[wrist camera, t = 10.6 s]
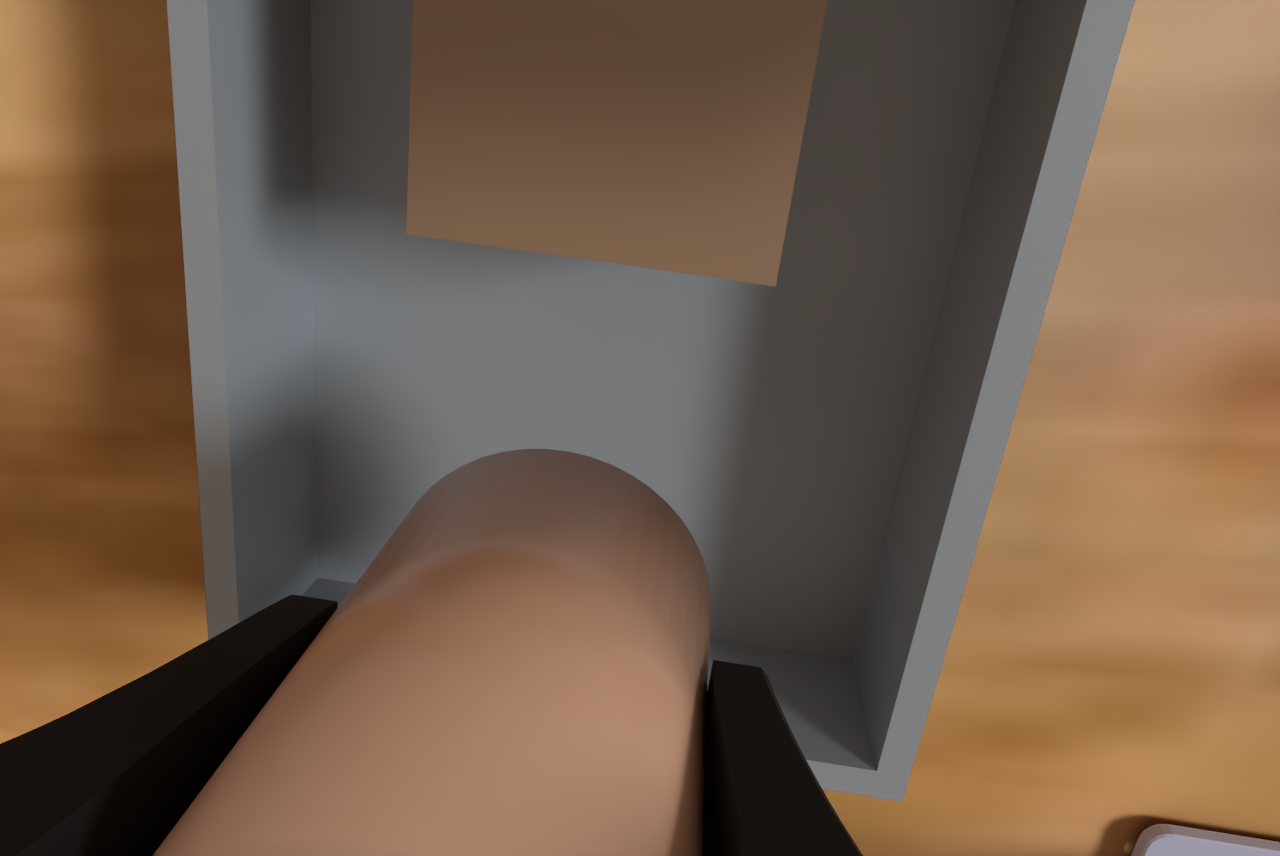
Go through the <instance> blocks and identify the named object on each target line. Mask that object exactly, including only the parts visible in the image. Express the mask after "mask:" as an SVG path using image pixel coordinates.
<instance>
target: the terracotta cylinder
mask: <svg viewBox="0 0 1280 856" xmlns="http://www.w3.org/2000/svg"><path fill="white" fill-rule="evenodd" d="M709 640H710V587H709V581H708V575H707V571H706V567H705V564H704V561H703V558H702V555H701V552H700V550H699V548H698V546H697V544H696V542H695V540H694V538H693V536H692V534H691V533H690V531H689V530H688V528H687V527H686V525H685V524H684V522H683V521H682V519H681V518H680V517H679V516H678V515H677V513H676V512H675V511H674V510H673V509H672V508H671V507H670V505H669V504H668V503H667V502H666V501H665V500H664V499H663V498H661V497H660V496H659V495H658V494H657V493H656V492H655V491H653V490H652V489H651V488H650V487H649V486H647V485H646V484H644V483H643V482H641V481H640V480H638V479H637V478H635V477H634V476H632V475H631V474H629V473H627V472H625V471H623V470H621V469H619V468H617V467H615V466H613V465H611V464H609V463H606V462H603V461H601V460H598V459H595V458H593V457H589V456H585V455H581V454H577V453H573V452H568V451H560V450H552V449H520V450H513V451H505V452H500V453H496V454H492V455H489V456H485V457H481V458H479V459H477V460H474V461H472V462H469V463H467V464H464V465H462V466H461V467H459V468H457V469H455V470H454V471H452V472H450V473H449V474H447V475H445V476H444V477H443V478H441V479H440V480H439V481H438V482H436V483H435V484H434V485H433V486H431V487H430V488H429V489H428V490H427V491H426V493H425V494H424V495H423V496H422V497H421V498H420V499H419V500H418V501H417V502H416V504H415V505H414V506H413V508H412V509H411V510H410V512H409V513H408V514H407V516H406V517H405V518H404V520H403V521H402V522H401V524H400V525H399V526H398V528H397V529H396V530H395V532H394V533H393V534H392V536H391V537H390V538H389V540H388V541H387V542H386V544H385V545H384V547H383V548H382V549H381V551H380V552H379V553H378V555H377V556H376V557H375V559H374V560H373V561H372V563H371V564H370V565H369V567H368V568H367V569H366V571H365V572H364V573H363V575H362V576H361V577H360V579H359V580H358V581H357V583H356V584H355V585H354V587H353V588H352V589H351V591H350V592H349V593H348V595H347V596H346V597H345V599H344V600H343V601H342V603H341V604H340V605H339V607H338V608H337V609H336V611H335V612H334V613H333V615H332V616H331V617H330V619H329V620H328V622H327V623H326V624H325V626H324V627H323V628H322V630H321V631H320V632H319V634H318V635H317V636H316V638H315V639H314V640H313V642H312V643H311V644H310V646H309V647H308V648H307V650H306V651H305V652H304V654H303V655H302V656H301V658H300V659H299V660H298V662H297V663H296V664H295V666H294V667H293V668H292V670H291V671H290V672H289V674H288V675H287V676H286V678H285V679H284V680H283V682H282V683H281V684H280V686H279V687H278V688H277V690H276V691H275V692H274V694H273V695H272V697H271V698H270V699H269V701H268V702H267V703H266V705H265V706H264V707H263V709H262V710H261V711H260V713H259V714H258V715H257V717H256V718H255V719H254V721H253V722H252V723H251V725H250V726H249V727H248V729H247V730H246V731H245V733H244V734H243V735H242V737H241V738H240V739H239V741H238V742H237V743H236V745H235V746H234V747H233V749H232V750H231V751H230V753H229V754H228V755H227V757H226V758H225V759H224V761H223V762H222V763H221V765H220V766H219V767H218V769H217V770H216V771H215V773H214V774H213V776H212V777H211V778H210V780H209V781H208V782H207V784H206V785H205V786H204V788H203V789H202V790H201V792H200V793H199V794H198V796H197V797H196V798H195V800H194V801H193V802H192V804H191V805H190V806H189V808H188V809H187V810H186V812H185V813H184V814H183V816H182V817H181V818H180V820H179V821H178V822H177V824H176V825H175V826H174V828H173V829H172V830H171V832H170V833H169V834H168V836H167V837H166V838H165V840H164V841H163V842H162V844H161V845H160V846H159V848H158V849H157V851H156V852H155V853H154V855H153V856H702V852H703V821H704V791H705V757H706V720H707V691H708V670H709Z"/></svg>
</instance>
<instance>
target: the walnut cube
mask: <svg viewBox="0 0 1280 856" xmlns="http://www.w3.org/2000/svg"><path fill="white" fill-rule="evenodd" d="M826 6H827V0H413V19H412V53H411V88H410V122H409V157H408V192H407V226H406V234H410V235H417V236H424V237H431V238H438V239H445V240H452V241H459V242H466V243H473V244H480V245H487V246H494V247H501V248H508V249H515V250H522V251H529V252H536V253H544V254H551V255H558V256H565V257H572V258H579V259H586V260H593V261H600V262H607V263H614V264H621V265H628V266H635V267H642V268H649V269H656V270H663V271H670V272H677V273H684V274H691V275H698V276H705V277H712V278H719V279H726V280H733V281H740V282H747V283H754V284H761V285H768V286H775V287H776V282H777V276H778V271H779V265H780V259H781V254H782V248H783V243H784V237H785V232H786V226H787V221H788V215H789V210H790V204H791V199H792V193H793V188H794V182H795V177H796V171H797V166H798V160H799V155H800V149H801V144H802V138H803V133H804V127H805V122H806V116H807V110H808V105H809V99H810V94H811V88H812V83H813V77H814V72H815V66H816V61H817V55H818V50H819V44H820V39H821V33H822V28H823V22H824V17H825V11H826Z"/></svg>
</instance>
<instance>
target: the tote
mask: <svg viewBox="0 0 1280 856" xmlns="http://www.w3.org/2000/svg"><path fill="white" fill-rule="evenodd" d="M1134 1H1135V0H827V6H826V11H825V17H824V22H823V28H822V33H821V39H820V44H819V50H818V55H817V61H816V66H815V72H814V77H813V83H812V88H811V94H810V99H809V105H808V110H807V116H806V122H805V127H804V133H803V138H802V144H801V149H800V155H799V160H798V166H797V171H796V177H795V182H794V188H793V193H792V199H791V204H790V210H789V215H788V221H787V226H786V232H785V237H784V243H783V248H782V254H781V259H780V265H779V271H778V276H777V282H776V287H775V286H768V285H761V284H754V283H747V282H740V281H733V280H726V279H719V278H712V277H705V276H698V275H691V274H684V273H677V272H670V271H663V270H656V269H649V268H642V267H635V266H628V265H621V264H614V263H607V262H600V261H593V260H586V259H579V258H572V257H565V256H558V255H551V254H544V253H536V252H529V251H522V250H515V249H508V248H501V247H494V246H487V245H480V244H473V243H466V242H459V241H452V240H445V239H438V238H431V237H424V236H417V235H410V234H406V226H407V192H408V157H409V122H410V88H411V53H412V19H413V0H167V13H168V29H169V44H170V59H171V75H172V90H173V105H174V120H175V136H176V151H177V166H178V181H179V197H180V212H181V227H182V243H183V258H184V273H185V288H186V304H187V319H188V334H189V349H190V365H191V380H192V395H193V411H194V426H195V441H196V456H197V472H198V487H199V502H200V517H201V533H202V548H203V563H204V579H205V594H206V609H207V624H208V640H210V639H211V638H213V637H215V636H217V635H218V634H220V633H222V632H224V631H225V630H227V629H229V628H231V627H232V626H234V625H236V624H238V623H240V622H241V621H243V620H245V619H247V618H248V617H250V616H252V615H254V614H255V613H257V612H259V611H261V610H263V609H264V608H266V607H268V606H270V605H272V604H274V603H276V602H277V601H279V600H281V599H283V598H285V597H287V596H289V595H292V594H293V595H299V596H306V597H312V598H318V599H325V600H331V601H337V608H338V607H339V605H340V604H341V603H342V601H343V600H344V599H345V597H346V596H347V595H348V593H349V592H350V591H351V589H352V588H353V587H354V585H355V584H356V583H357V581H358V580H359V579H360V577H361V576H362V575H363V573H364V572H365V571H366V569H367V568H368V567H369V565H370V564H371V563H372V561H373V560H374V559H375V557H376V556H377V555H378V553H379V552H380V551H381V549H382V548H383V547H384V545H385V544H386V542H387V541H388V540H389V538H390V537H391V536H392V534H393V533H394V532H395V530H396V529H397V528H398V526H399V525H400V524H401V522H402V521H403V520H404V518H405V517H406V516H407V514H408V513H409V512H410V510H411V509H412V508H413V506H414V505H415V504H416V502H417V501H418V500H419V499H420V498H421V497H422V496H423V495H424V494H425V493H426V491H427V490H428V489H429V488H430V487H431V486H433V485H434V484H435V483H436V482H438V481H439V480H440V479H441V478H443V477H444V476H445V475H447V474H449V473H450V472H452V471H454V470H455V469H457V468H459V467H461V466H462V465H464V464H467V463H469V462H472V461H474V460H477V459H479V458H481V457H485V456H489V455H492V454H496V453H500V452H505V451H513V450H520V449H552V450H560V451H568V452H573V453H577V454H581V455H585V456H589V457H593V458H595V459H598V460H601V461H603V462H606V463H609V464H611V465H613V466H615V467H617V468H619V469H621V470H623V471H625V472H627V473H629V474H631V475H632V476H634V477H635V478H637V479H638V480H640V481H641V482H643V483H644V484H646V485H647V486H649V487H650V488H651V489H652V490H653V491H655V492H656V493H657V494H658V495H659V496H660V497H661V498H663V499H664V500H665V501H666V502H667V503H668V504H669V505H670V507H671V508H672V509H673V510H674V511H675V512H676V513H677V515H678V516H679V517H680V518H681V519H682V521H683V522H684V524H685V525H686V527H687V528H688V530H689V531H690V533H691V534H692V536H693V538H694V540H695V542H696V544H697V546H698V548H699V550H700V552H701V555H702V558H703V561H704V564H705V567H706V571H707V575H708V581H709V587H710V640H709V670H708V686H709V680H710V674H711V669H712V663H713V660H717V661H724V662H730V663H737V664H743V665H749V666H756V667H761V668H762V669H763V671H764V672H765V673H766V675H767V676H768V678H769V681H770V683H771V686H772V688H773V691H774V693H775V696H776V698H777V700H778V703H779V705H780V707H781V710H782V712H783V714H784V716H785V718H786V721H787V723H788V725H789V727H790V729H791V731H792V733H793V735H794V737H795V739H796V741H797V743H798V745H799V747H800V749H801V751H802V753H803V755H804V757H805V759H806V761H807V762H808V764H809V766H810V768H811V770H812V772H813V773H814V775H815V777H816V779H817V781H818V782H819V784H820V786H821V788H822V789H826V790H833V791H839V792H845V793H851V794H857V795H864V796H870V797H876V798H882V799H888V800H894V801H901V802H902V801H903V798H904V794H905V791H906V788H907V784H908V781H909V777H910V774H911V770H912V767H913V763H914V760H915V757H916V753H917V750H918V746H919V743H920V739H921V736H922V732H923V729H924V725H925V722H926V719H927V715H928V712H929V708H930V705H931V701H932V698H933V694H934V691H935V688H936V684H937V681H938V677H939V674H940V670H941V667H942V663H943V660H944V657H945V653H946V650H947V646H948V643H949V639H950V636H951V632H952V629H953V625H954V622H955V619H956V615H957V612H958V608H959V605H960V601H961V598H962V594H963V591H964V588H965V584H966V581H967V577H968V574H969V570H970V567H971V563H972V560H973V557H974V553H975V550H976V546H977V543H978V539H979V536H980V532H981V529H982V525H983V522H984V519H985V515H986V512H987V508H988V505H989V501H990V498H991V494H992V491H993V488H994V484H995V481H996V477H997V474H998V470H999V467H1000V463H1001V460H1002V457H1003V453H1004V450H1005V446H1006V443H1007V439H1008V436H1009V432H1010V429H1011V425H1012V422H1013V419H1014V415H1015V412H1016V408H1017V405H1018V401H1019V398H1020V394H1021V391H1022V388H1023V384H1024V381H1025V377H1026V374H1027V370H1028V367H1029V363H1030V360H1031V357H1032V353H1033V350H1034V346H1035V343H1036V339H1037V336H1038V332H1039V329H1040V325H1041V322H1042V319H1043V315H1044V312H1045V308H1046V305H1047V301H1048V298H1049V294H1050V291H1051V288H1052V284H1053V281H1054V277H1055V274H1056V270H1057V267H1058V263H1059V260H1060V257H1061V253H1062V250H1063V246H1064V243H1065V239H1066V236H1067V232H1068V229H1069V225H1070V222H1071V219H1072V215H1073V212H1074V208H1075V205H1076V201H1077V198H1078V194H1079V191H1080V188H1081V184H1082V181H1083V177H1084V174H1085V170H1086V167H1087V163H1088V160H1089V157H1090V153H1091V150H1092V146H1093V143H1094V139H1095V136H1096V132H1097V129H1098V125H1099V122H1100V119H1101V115H1102V112H1103V108H1104V105H1105V101H1106V98H1107V94H1108V91H1109V88H1110V84H1111V81H1112V77H1113V74H1114V70H1115V67H1116V63H1117V60H1118V57H1119V53H1120V50H1121V46H1122V43H1123V39H1124V36H1125V32H1126V29H1127V25H1128V22H1129V19H1130V15H1131V12H1132V8H1133V5H1134Z"/></svg>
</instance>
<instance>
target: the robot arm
mask: <svg viewBox="0 0 1280 856" xmlns="http://www.w3.org/2000/svg"><path fill="white" fill-rule="evenodd" d="M336 609H337V601H331V600H325V599H318V598H312V597H306V596H299V595H293V594H292V595H289V596H287V597H285V598H283V599H281V600H279V601H277V602H276V603H274V604H272V605H270V606H268V607H266V608H264V609H263V610H261V611H259V612H257V613H255V614H254V615H252V616H250V617H248V618H247V619H245V620H243V621H241V622H240V623H238V624H236V625H234V626H232V627H231V628H229V629H227V630H225V631H224V632H222V633H220V634H218V635H217V636H215V637H213V638H211V639H210V640H208V641H206V642H204V643H202V644H201V645H199V646H197V647H195V648H193V649H192V650H190V651H188V652H186V653H184V654H183V655H181V656H179V657H177V658H175V659H174V660H172V661H170V662H168V663H166V664H165V665H163V666H161V667H159V668H157V669H156V670H154V671H152V672H150V673H148V674H146V675H144V676H142V677H140V678H138V679H136V680H134V681H132V682H130V683H128V684H126V685H124V686H122V687H120V688H118V689H116V690H114V691H112V692H110V693H108V694H106V695H104V696H102V697H101V698H99V699H97V700H95V701H93V702H91V703H89V704H87V705H85V706H83V707H81V708H79V709H77V710H75V711H73V712H71V713H69V714H67V715H65V716H62V717H60V718H58V719H56V720H54V721H52V722H50V723H47V724H45V725H43V726H41V727H38V728H36V729H34V730H32V731H29V732H27V733H25V734H23V735H20V736H18V737H16V738H13V739H11V740H9V741H6V742H4V743H1V744H0V856H153V855H154V853H155V852H156V851H157V849H158V848H159V846H160V845H161V844H162V842H163V841H164V840H165V838H166V837H167V836H168V834H169V833H170V832H171V830H172V829H173V828H174V826H175V825H176V824H177V822H178V821H179V820H180V818H181V817H182V816H183V814H184V813H185V812H186V810H187V809H188V808H189V806H190V805H191V804H192V802H193V801H194V800H195V798H196V797H197V796H198V794H199V793H200V792H201V790H202V789H203V788H204V786H205V785H206V784H207V782H208V781H209V780H210V778H211V777H212V776H213V774H214V773H215V771H216V770H217V769H218V767H219V766H220V765H221V763H222V762H223V761H224V759H225V758H226V757H227V755H228V754H229V753H230V751H231V750H232V749H233V747H234V746H235V745H236V743H237V742H238V741H239V739H240V738H241V737H242V735H243V734H244V733H245V731H246V730H247V729H248V727H249V726H250V725H251V723H252V722H253V721H254V719H255V718H256V717H257V715H258V714H259V713H260V711H261V710H262V709H263V707H264V706H265V705H266V703H267V702H268V701H269V699H270V698H271V697H272V695H273V694H274V692H275V691H276V690H277V688H278V687H279V686H280V684H281V683H282V682H283V680H284V679H285V678H286V676H287V675H288V674H289V672H290V671H291V670H292V668H293V667H294V666H295V664H296V663H297V662H298V660H299V659H300V658H301V656H302V655H303V654H304V652H305V651H306V650H307V648H308V647H309V646H310V644H311V643H312V642H313V640H314V639H315V638H316V636H317V635H318V634H319V632H320V631H321V630H322V628H323V627H324V626H325V624H326V623H327V622H328V620H329V619H330V617H331V616H332V615H333V613H334V612H335V611H336ZM702 856H863V855H862V854H861V852H860V850H859V849H858V847H857V846H856V844H855V843H854V841H853V839H852V838H851V836H850V835H849V833H848V832H847V830H846V828H845V827H844V825H843V824H842V822H841V821H840V819H839V817H838V815H837V814H836V812H835V810H834V809H833V807H832V805H831V804H830V802H829V800H828V799H827V797H826V795H825V793H824V791H823V790H822V788H821V786H820V784H819V782H818V781H817V779H816V777H815V775H814V773H813V772H812V770H811V768H810V766H809V764H808V762H807V761H806V759H805V757H804V755H803V753H802V751H801V749H800V747H799V745H798V743H797V741H796V739H795V737H794V735H793V733H792V731H791V729H790V727H789V725H788V723H787V721H786V718H785V716H784V714H783V712H782V710H781V707H780V705H779V703H778V700H777V698H776V696H775V693H774V691H773V688H772V686H771V683H770V681H769V678H768V676H767V675H766V673H765V672H764V671H763V669H762V668H761V667H756V666H749V665H743V664H737V663H730V662H724V661H717V660H713V663H712V669H711V674H710V680H709V686H708V691H707V720H706V757H705V791H704V821H703V852H702ZM1131 856H1280V842H1277V841H1270V840H1264V839H1258V838H1252V837H1246V836H1239V835H1233V834H1227V833H1221V832H1214V831H1208V830H1202V829H1196V828H1190V827H1183V826H1177V825H1171V824H1156V825H1152V826H1150V827H1148V828H1147V829H1145V830H1144V831H1143V832H1142V833H1141V835H1140V836H1139V838H1138V840H1137V843H1136V845H1135V847H1134V850H1133V852H1132V855H1131Z"/></svg>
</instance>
